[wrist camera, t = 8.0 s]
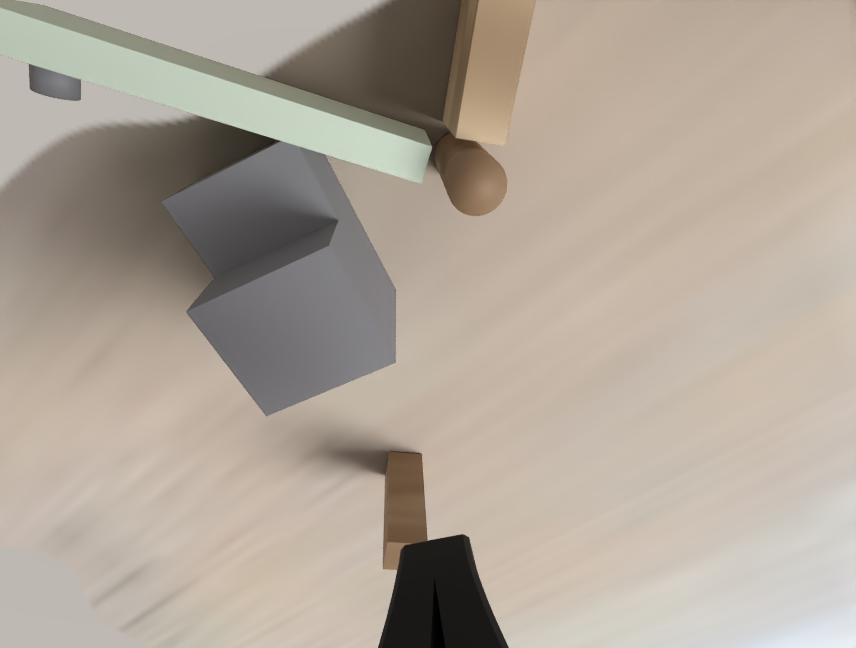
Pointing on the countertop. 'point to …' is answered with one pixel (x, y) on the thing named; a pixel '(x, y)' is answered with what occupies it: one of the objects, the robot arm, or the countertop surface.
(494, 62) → the tan small pieces
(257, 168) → the grey faceted block
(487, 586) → the countertop surface
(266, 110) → the pale green bar
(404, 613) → the robot arm
